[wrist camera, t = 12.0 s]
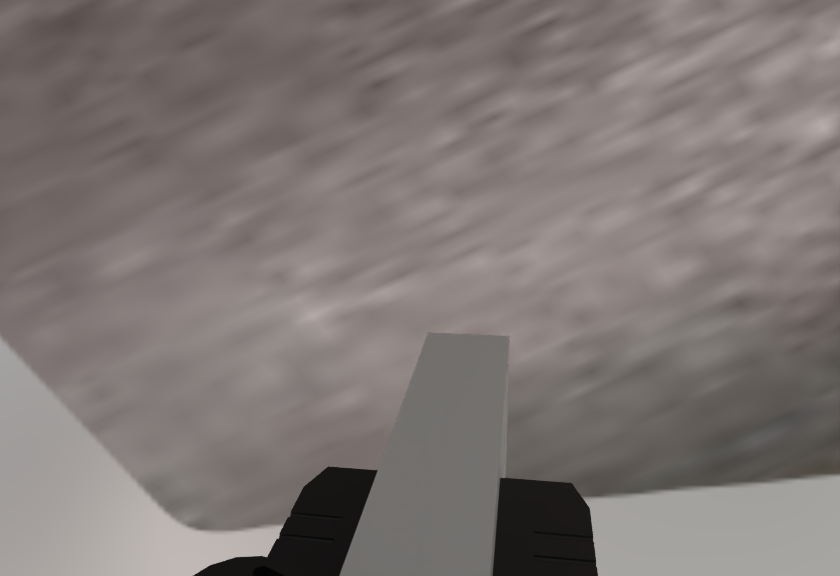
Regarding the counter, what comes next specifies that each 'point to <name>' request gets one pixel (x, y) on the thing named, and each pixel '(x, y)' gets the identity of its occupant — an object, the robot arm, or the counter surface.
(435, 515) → the robot arm
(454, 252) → the counter surface
